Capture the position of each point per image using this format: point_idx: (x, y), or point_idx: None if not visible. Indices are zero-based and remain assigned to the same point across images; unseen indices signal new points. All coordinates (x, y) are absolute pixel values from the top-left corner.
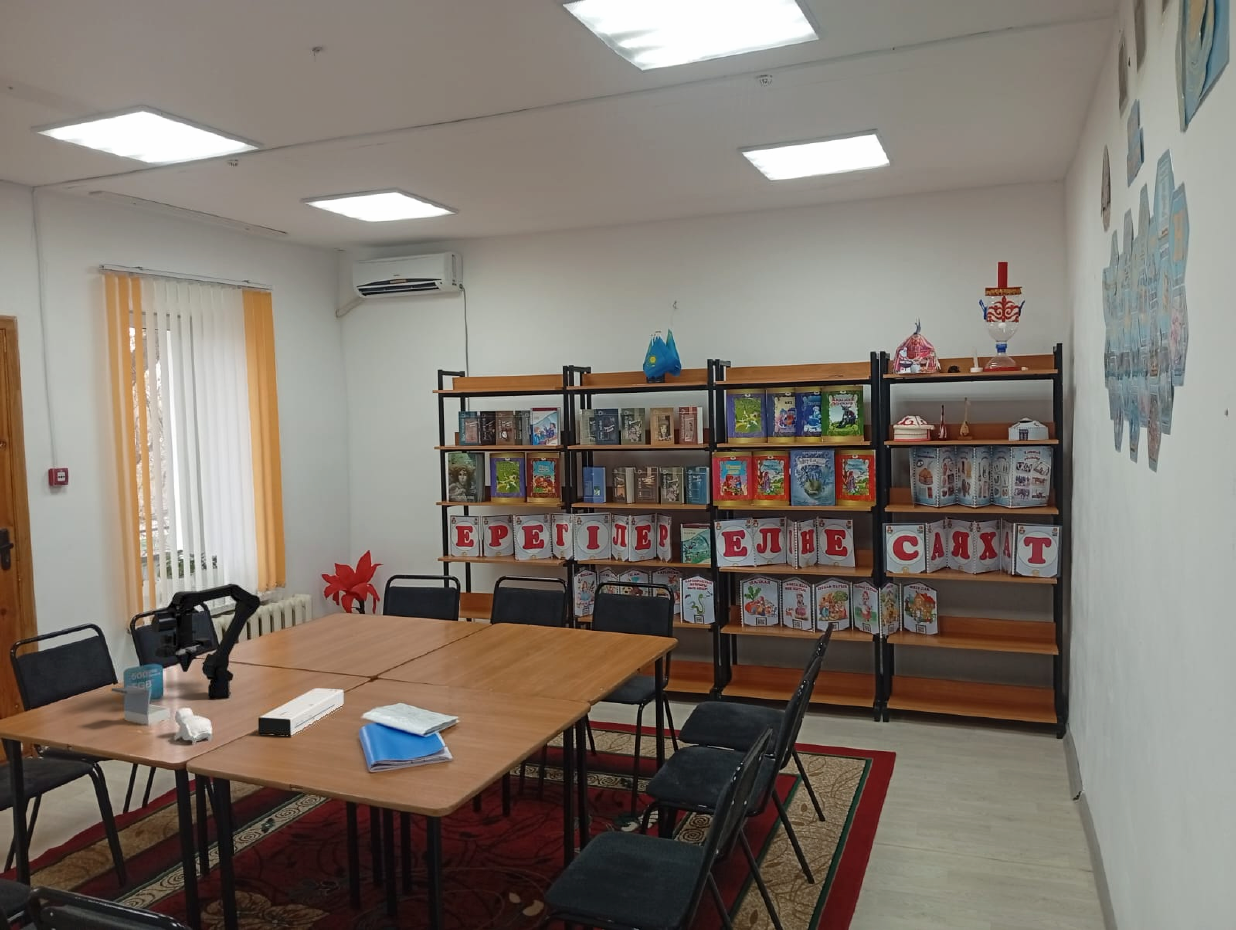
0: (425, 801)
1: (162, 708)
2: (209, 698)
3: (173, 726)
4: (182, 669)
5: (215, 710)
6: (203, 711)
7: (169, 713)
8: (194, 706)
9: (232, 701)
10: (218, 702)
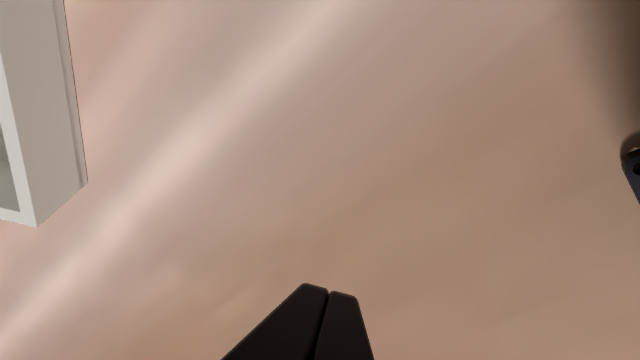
0: None
1: (14, 156)
2: (625, 164)
3: (19, 290)
4: (271, 315)
5: None
6: None
7: (59, 202)
8: (392, 155)
9: (591, 346)
10: (548, 268)
